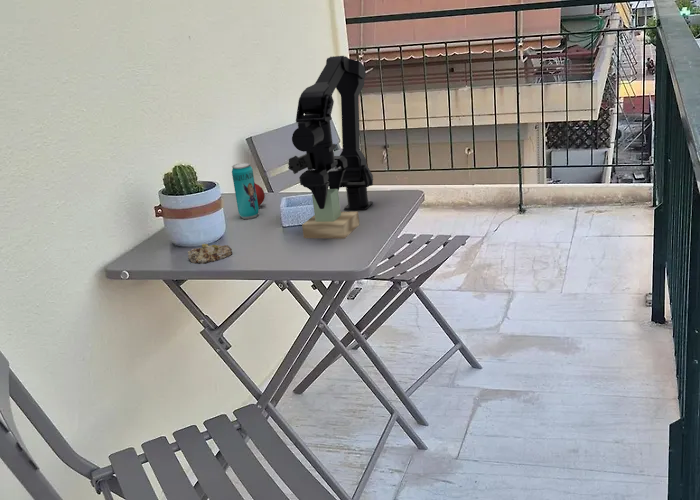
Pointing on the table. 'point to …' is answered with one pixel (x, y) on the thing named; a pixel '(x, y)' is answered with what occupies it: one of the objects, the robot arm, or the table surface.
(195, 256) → the mineral rock
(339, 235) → the oak box
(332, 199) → the sage block
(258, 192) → the onion
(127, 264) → the table surface
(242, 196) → the beverage can
